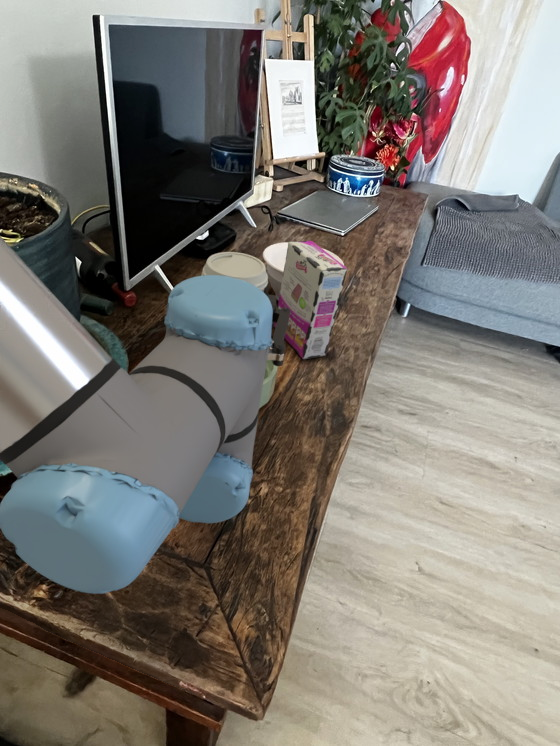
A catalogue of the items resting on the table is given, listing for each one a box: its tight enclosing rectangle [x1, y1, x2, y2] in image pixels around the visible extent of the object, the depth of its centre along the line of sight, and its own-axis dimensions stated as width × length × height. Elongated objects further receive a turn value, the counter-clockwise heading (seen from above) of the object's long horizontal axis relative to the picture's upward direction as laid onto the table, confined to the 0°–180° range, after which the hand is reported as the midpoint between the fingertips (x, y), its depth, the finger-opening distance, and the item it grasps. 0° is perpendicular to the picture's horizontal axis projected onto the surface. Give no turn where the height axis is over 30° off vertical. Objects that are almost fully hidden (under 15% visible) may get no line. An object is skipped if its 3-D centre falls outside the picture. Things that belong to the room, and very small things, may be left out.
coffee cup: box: [201, 251, 268, 292], centre depth 66 cm, size 8×8×12 cm
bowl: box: [262, 241, 345, 301], centre depth 98 cm, size 16×16×8 cm
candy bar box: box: [273, 240, 349, 360], centre depth 82 cm, size 11×5×16 cm, turn 27°
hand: (235, 284), depth 69 cm, fingers closed on coffee cup, 8 cm apart
